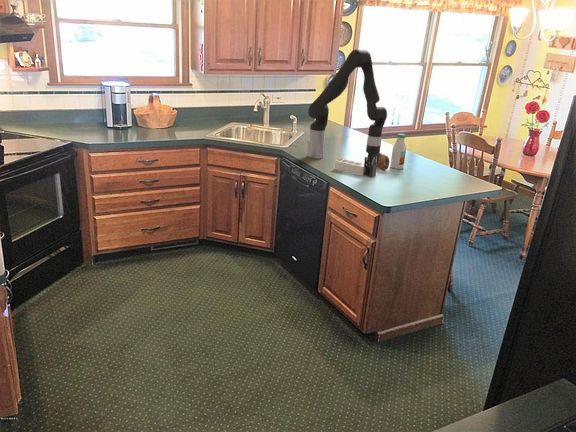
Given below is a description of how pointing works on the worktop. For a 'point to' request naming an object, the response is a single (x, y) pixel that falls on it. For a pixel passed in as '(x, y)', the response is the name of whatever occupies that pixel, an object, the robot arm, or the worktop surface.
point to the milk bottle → (398, 152)
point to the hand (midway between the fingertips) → (370, 173)
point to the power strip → (350, 166)
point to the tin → (383, 162)
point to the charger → (372, 170)
